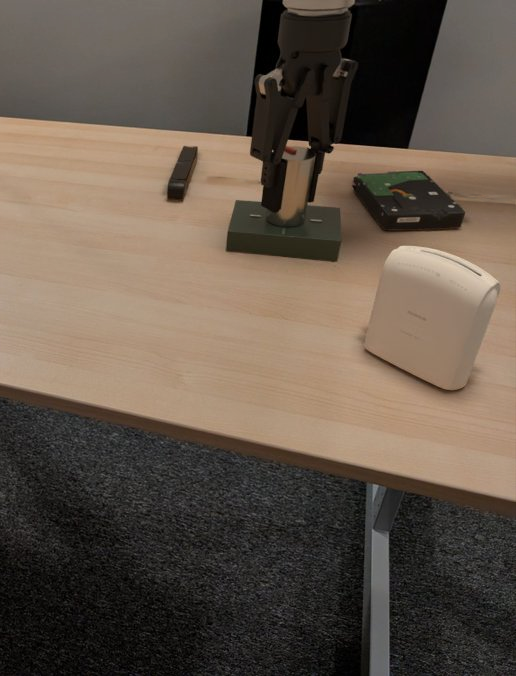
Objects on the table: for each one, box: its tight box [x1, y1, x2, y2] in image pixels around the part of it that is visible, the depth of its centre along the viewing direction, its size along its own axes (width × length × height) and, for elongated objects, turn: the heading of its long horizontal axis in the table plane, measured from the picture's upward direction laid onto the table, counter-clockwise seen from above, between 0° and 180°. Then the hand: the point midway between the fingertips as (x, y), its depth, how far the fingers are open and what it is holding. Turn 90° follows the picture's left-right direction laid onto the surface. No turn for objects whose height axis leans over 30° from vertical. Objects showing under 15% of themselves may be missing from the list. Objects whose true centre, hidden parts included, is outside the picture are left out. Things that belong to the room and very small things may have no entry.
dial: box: [266, 145, 316, 227], centre depth 84 cm, size 5×5×9 cm
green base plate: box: [225, 199, 342, 262], centre depth 88 cm, size 14×10×3 cm
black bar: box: [166, 145, 199, 201], centre depth 107 cm, size 18×3×3 cm, turn 163°
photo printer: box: [363, 245, 501, 391], centre depth 62 cm, size 10×4×12 cm, turn 35°
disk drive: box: [351, 170, 466, 231], centre depth 94 cm, size 10×3×15 cm
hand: (287, 203), depth 86 cm, fingers closed on dial, 5 cm apart
